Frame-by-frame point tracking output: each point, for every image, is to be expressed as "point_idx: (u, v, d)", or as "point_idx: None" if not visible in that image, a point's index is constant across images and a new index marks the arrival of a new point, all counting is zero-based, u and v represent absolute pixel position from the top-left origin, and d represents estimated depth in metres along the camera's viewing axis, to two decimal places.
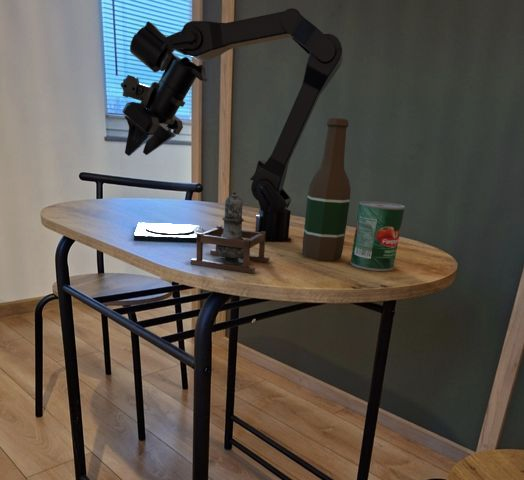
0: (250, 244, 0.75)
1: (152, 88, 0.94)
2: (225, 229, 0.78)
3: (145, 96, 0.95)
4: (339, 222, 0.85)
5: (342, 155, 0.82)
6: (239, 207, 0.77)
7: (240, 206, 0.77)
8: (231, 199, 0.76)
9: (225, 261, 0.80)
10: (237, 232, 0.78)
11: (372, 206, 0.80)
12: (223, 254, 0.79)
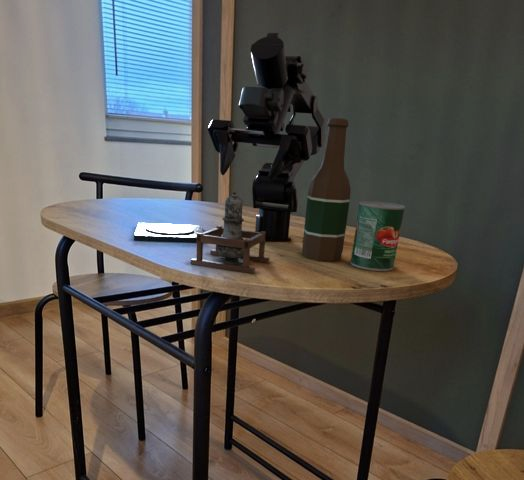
0: (250, 244, 0.75)
1: None
2: (225, 229, 0.78)
3: (276, 115, 0.83)
4: (339, 222, 0.85)
5: (342, 155, 0.82)
6: (239, 207, 0.77)
7: (240, 206, 0.77)
8: (231, 199, 0.76)
9: (225, 261, 0.80)
10: (237, 232, 0.78)
11: (372, 206, 0.80)
12: (223, 254, 0.79)
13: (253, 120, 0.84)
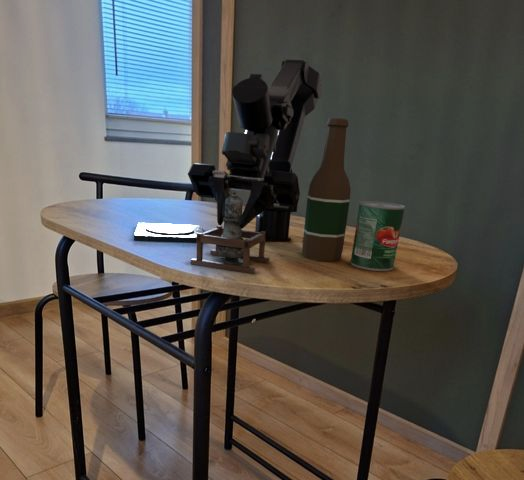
0: (250, 244, 0.75)
1: None
2: (225, 229, 0.78)
3: (261, 160, 0.78)
4: (339, 222, 0.85)
5: (342, 155, 0.82)
6: (239, 207, 0.77)
7: (240, 206, 0.77)
8: (231, 199, 0.76)
9: (225, 261, 0.80)
10: (237, 232, 0.78)
11: (372, 206, 0.80)
12: (223, 254, 0.79)
13: (236, 165, 0.78)
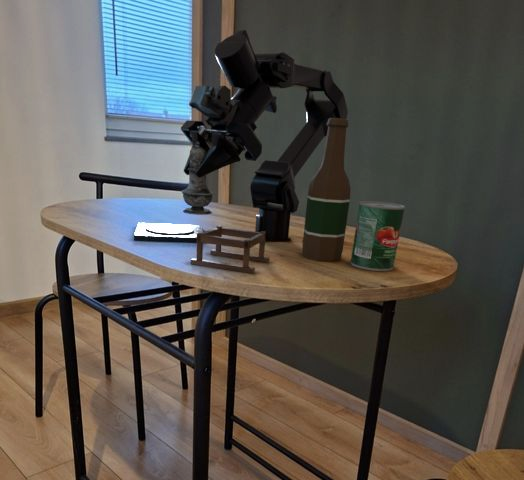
0: (250, 244, 0.75)
1: (236, 106, 0.81)
2: (189, 179, 0.84)
3: (230, 114, 0.81)
4: (339, 222, 0.85)
5: (342, 155, 0.82)
6: (198, 157, 0.82)
7: (200, 156, 0.82)
8: (191, 149, 0.82)
9: (188, 209, 0.86)
10: (196, 181, 0.83)
11: (372, 206, 0.80)
12: None
13: (212, 119, 0.83)
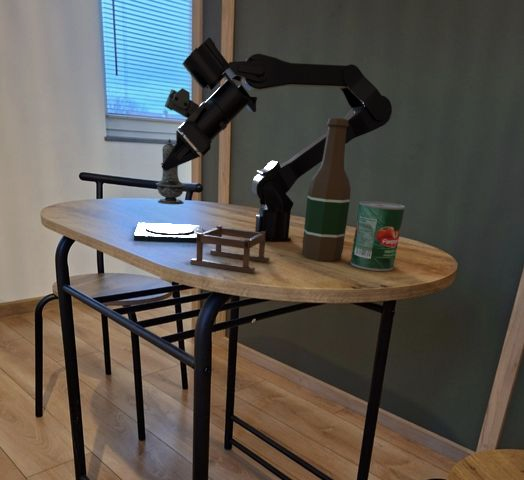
0: (250, 244, 0.75)
1: (202, 107, 0.89)
2: None
3: (194, 114, 0.89)
4: (339, 222, 0.85)
5: (342, 155, 0.82)
6: (166, 152, 0.92)
7: (167, 152, 0.92)
8: (163, 146, 0.93)
9: (163, 199, 0.97)
10: (165, 174, 0.94)
11: (372, 206, 0.80)
12: None
13: None
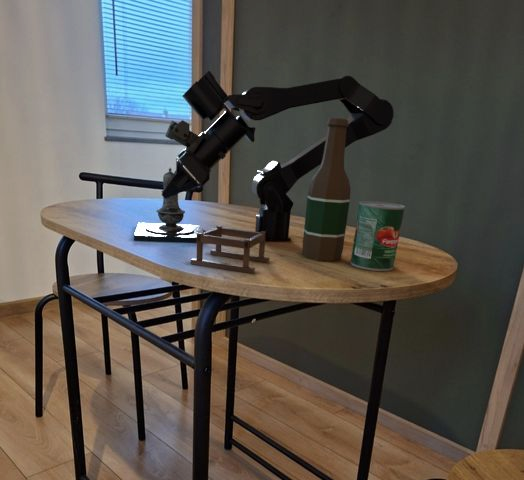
0: (250, 244, 0.75)
1: (202, 138, 0.91)
2: None
3: (193, 144, 0.91)
4: (339, 222, 0.85)
5: (342, 155, 0.82)
6: (167, 181, 0.94)
7: (168, 180, 0.94)
8: (164, 174, 0.95)
9: (163, 225, 0.99)
10: (166, 201, 0.96)
11: (372, 206, 0.80)
12: None
13: None
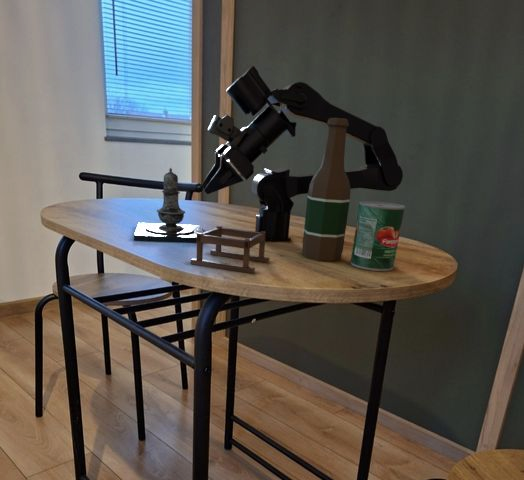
0: (250, 244, 0.75)
1: (244, 132, 0.92)
2: None
3: (236, 139, 0.92)
4: (339, 222, 0.85)
5: (342, 155, 0.82)
6: (167, 181, 0.94)
7: (168, 180, 0.94)
8: None
9: (163, 225, 0.99)
10: (166, 201, 0.96)
11: (372, 206, 0.80)
12: None
13: (229, 143, 0.95)
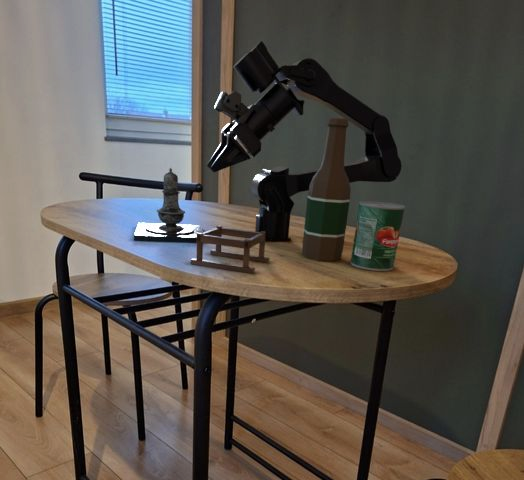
0: (250, 244, 0.75)
1: (252, 109, 0.90)
2: None
3: (243, 116, 0.90)
4: (339, 222, 0.85)
5: (342, 155, 0.82)
6: (167, 181, 0.94)
7: (168, 180, 0.94)
8: None
9: (163, 225, 0.99)
10: (166, 201, 0.96)
11: (372, 206, 0.80)
12: None
13: (235, 121, 0.94)
